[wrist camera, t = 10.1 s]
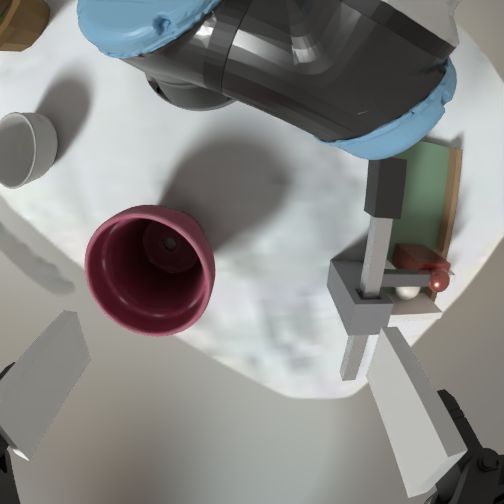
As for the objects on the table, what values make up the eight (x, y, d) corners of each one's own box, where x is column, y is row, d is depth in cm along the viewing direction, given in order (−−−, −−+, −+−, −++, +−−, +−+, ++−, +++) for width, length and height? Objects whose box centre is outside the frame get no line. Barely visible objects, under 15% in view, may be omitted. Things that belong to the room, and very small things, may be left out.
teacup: (66, 106, 34) (33, 103, 26) (69, 176, 37) (36, 184, 30) (9, 125, 34) (-22, 128, 26) (13, 186, 38) (-19, 195, 30)
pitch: (341, 128, 35) (377, 122, 23) (448, 148, 34) (503, 155, 23) (325, 297, 43) (344, 349, 31) (423, 296, 43) (460, 339, 31)
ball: (400, 302, 36) (388, 297, 40) (423, 301, 36) (410, 297, 40) (403, 273, 36) (390, 270, 40) (426, 273, 36) (413, 270, 40)
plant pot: (206, 176, 37) (181, 191, 25) (238, 273, 42) (230, 324, 30) (114, 209, 39) (64, 237, 27) (150, 295, 44) (117, 345, 32)
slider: (350, 151, 34) (382, 155, 24) (436, 165, 34) (481, 175, 24) (326, 340, 43) (339, 386, 34) (400, 337, 43) (424, 377, 34)
